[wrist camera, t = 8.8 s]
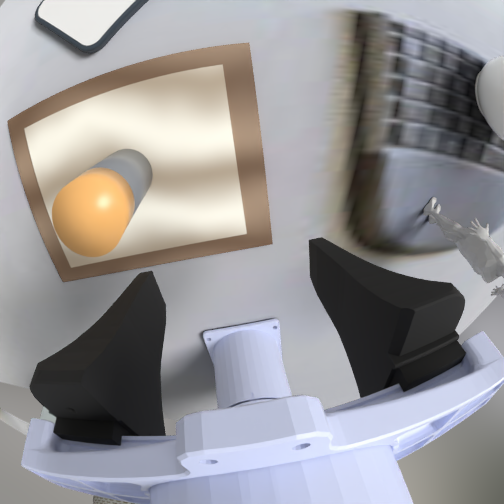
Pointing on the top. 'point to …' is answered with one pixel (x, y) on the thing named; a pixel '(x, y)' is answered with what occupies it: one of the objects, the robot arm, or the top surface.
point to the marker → (101, 203)
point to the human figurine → (472, 245)
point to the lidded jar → (492, 94)
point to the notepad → (155, 157)
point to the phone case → (86, 20)
